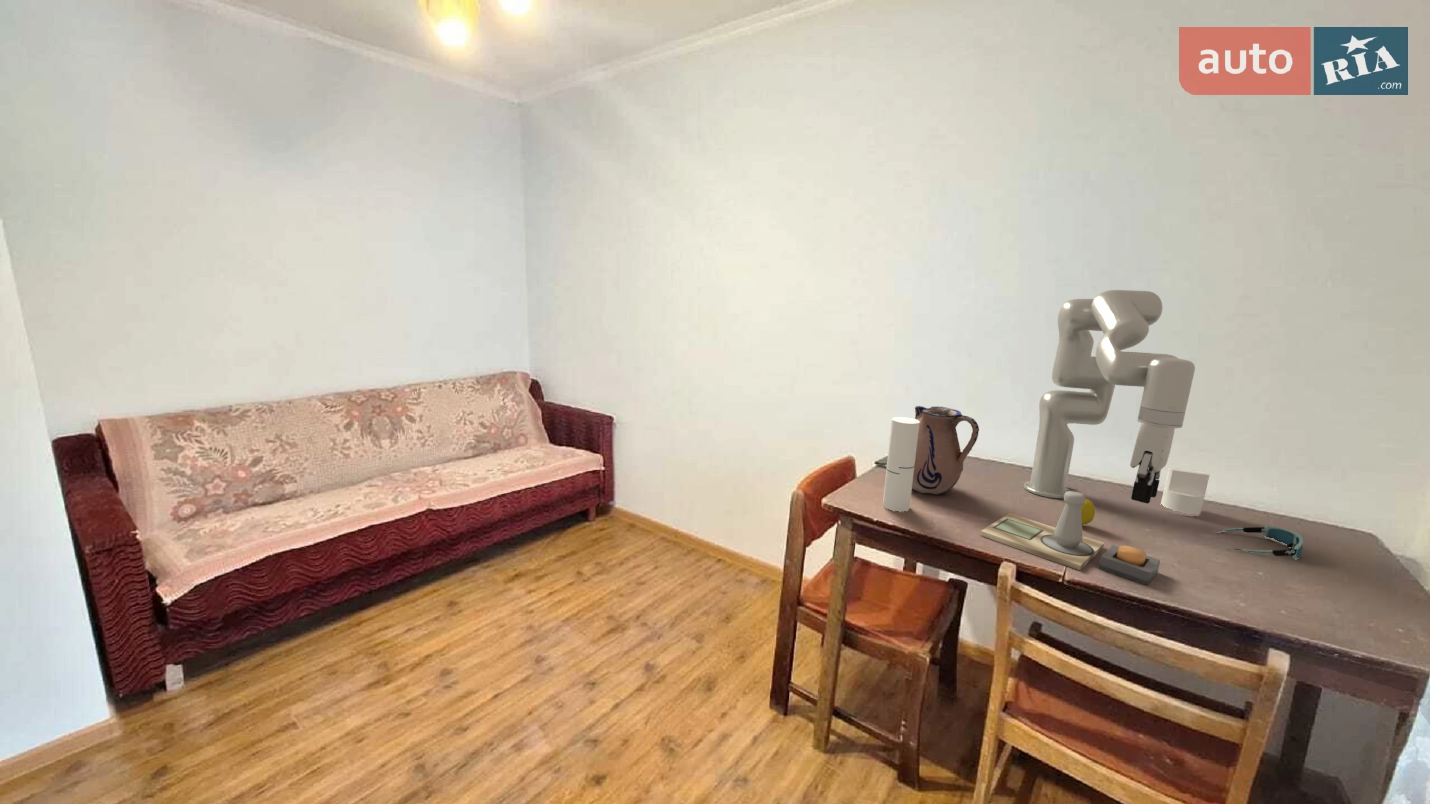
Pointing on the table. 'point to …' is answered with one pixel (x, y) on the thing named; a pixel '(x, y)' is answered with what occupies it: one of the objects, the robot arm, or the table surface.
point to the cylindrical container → (900, 463)
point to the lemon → (1087, 511)
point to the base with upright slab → (1185, 490)
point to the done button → (1131, 555)
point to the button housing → (1129, 567)
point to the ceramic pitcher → (939, 449)
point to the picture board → (1041, 541)
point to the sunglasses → (1280, 535)
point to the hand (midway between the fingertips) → (1143, 497)
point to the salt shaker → (1070, 521)
